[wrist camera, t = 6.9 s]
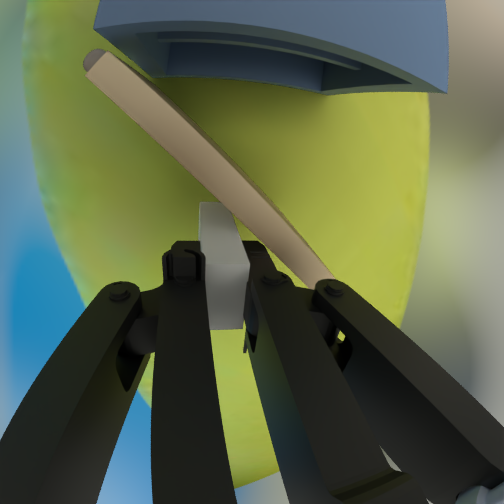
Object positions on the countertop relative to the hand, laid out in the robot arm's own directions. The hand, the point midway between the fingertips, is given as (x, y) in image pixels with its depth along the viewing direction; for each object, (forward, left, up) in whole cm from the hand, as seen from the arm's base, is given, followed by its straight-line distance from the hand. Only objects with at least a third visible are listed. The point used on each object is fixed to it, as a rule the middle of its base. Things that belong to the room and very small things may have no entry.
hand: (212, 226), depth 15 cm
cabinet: (-15, +2, -8) cm, 17 cm away
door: (-3, 0, -7) cm, 8 cm away
